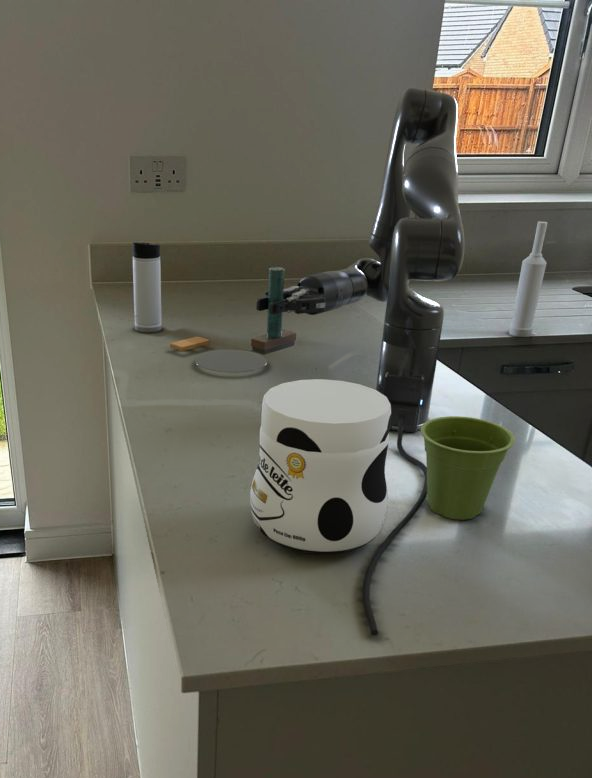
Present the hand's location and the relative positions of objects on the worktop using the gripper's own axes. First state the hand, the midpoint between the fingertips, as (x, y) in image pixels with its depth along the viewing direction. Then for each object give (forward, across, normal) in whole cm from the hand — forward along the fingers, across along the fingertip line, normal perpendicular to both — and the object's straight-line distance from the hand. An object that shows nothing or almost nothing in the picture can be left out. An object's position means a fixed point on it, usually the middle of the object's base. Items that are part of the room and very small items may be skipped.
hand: (264, 306), depth 145 cm
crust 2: (-5, -25, +15) cm, 30 cm away
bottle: (-71, +16, +16) cm, 74 cm away
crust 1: (-1, -25, +15) cm, 29 cm away
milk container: (+37, +45, +14) cm, 60 cm away
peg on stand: (-3, 0, +8) cm, 9 cm away
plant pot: (+18, +53, +15) cm, 58 cm away
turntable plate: (-3, -11, +15) cm, 19 cm away
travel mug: (-7, -44, +15) cm, 47 cm away
